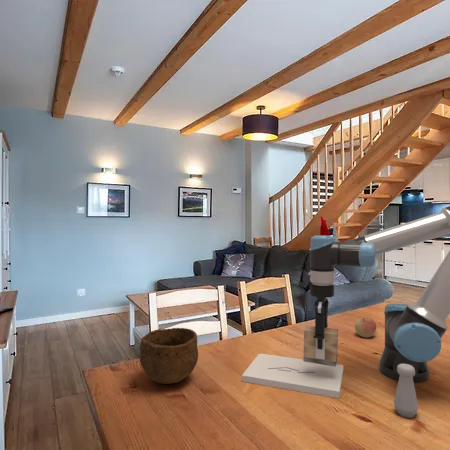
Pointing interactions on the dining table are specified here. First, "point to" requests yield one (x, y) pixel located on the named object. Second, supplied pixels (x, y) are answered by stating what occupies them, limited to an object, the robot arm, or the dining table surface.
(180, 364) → the bowl
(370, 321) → the apple
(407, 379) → the salt shaker
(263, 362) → the board
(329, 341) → the block
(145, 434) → the dining table surface
